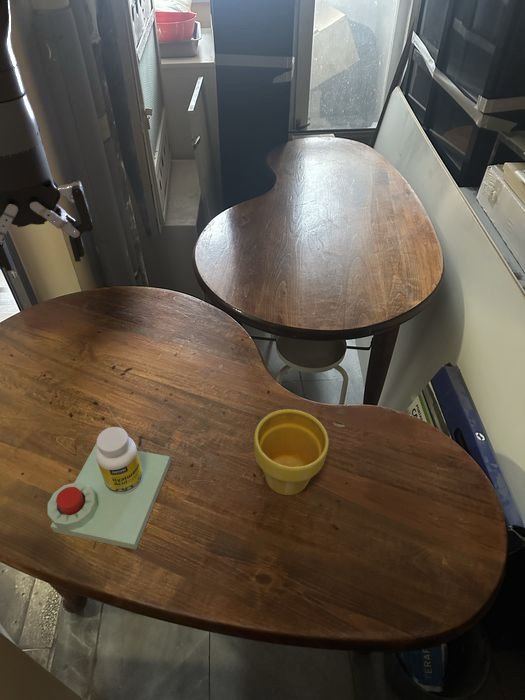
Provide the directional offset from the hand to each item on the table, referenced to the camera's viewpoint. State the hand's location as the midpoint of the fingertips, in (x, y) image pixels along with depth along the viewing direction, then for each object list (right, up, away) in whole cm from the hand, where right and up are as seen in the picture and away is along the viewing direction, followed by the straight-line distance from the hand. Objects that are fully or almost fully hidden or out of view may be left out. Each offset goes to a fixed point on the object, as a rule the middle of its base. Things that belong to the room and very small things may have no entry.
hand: (45, 262), depth 64 cm
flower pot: (+33, -31, +9) cm, 46 cm away
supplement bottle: (+9, -31, +6) cm, 32 cm away
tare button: (+3, -33, +1) cm, 33 cm away
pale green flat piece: (+8, -33, +6) cm, 34 cm away
